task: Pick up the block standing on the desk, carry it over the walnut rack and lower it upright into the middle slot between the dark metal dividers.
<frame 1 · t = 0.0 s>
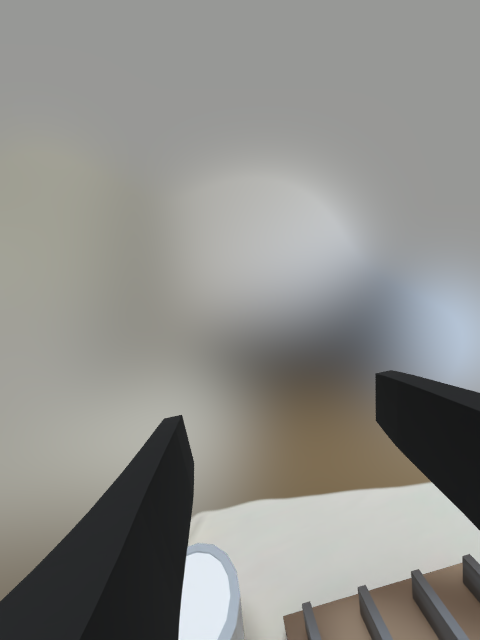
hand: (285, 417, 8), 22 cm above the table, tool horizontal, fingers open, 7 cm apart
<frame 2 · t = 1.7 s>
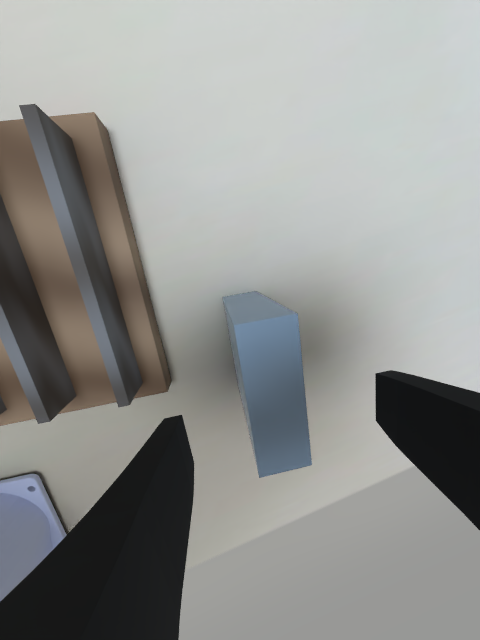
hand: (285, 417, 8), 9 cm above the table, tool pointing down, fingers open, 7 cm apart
rack: (13, 292, 14), on the table
block: (246, 340, 17), on the table
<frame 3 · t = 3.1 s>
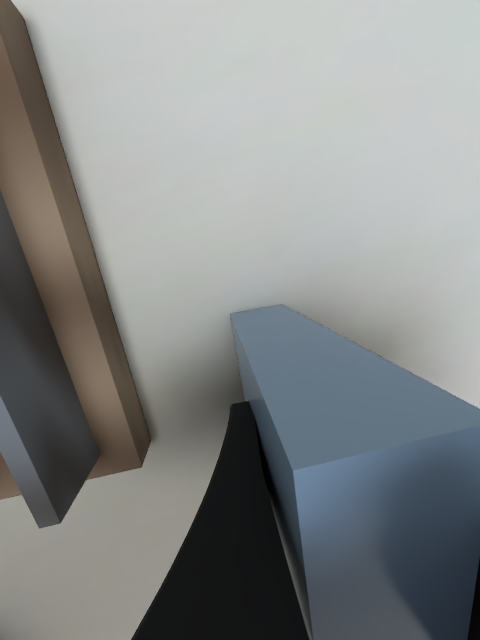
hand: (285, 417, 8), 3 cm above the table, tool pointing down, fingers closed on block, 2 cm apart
block: (265, 378, 11), on the table, touching gripper
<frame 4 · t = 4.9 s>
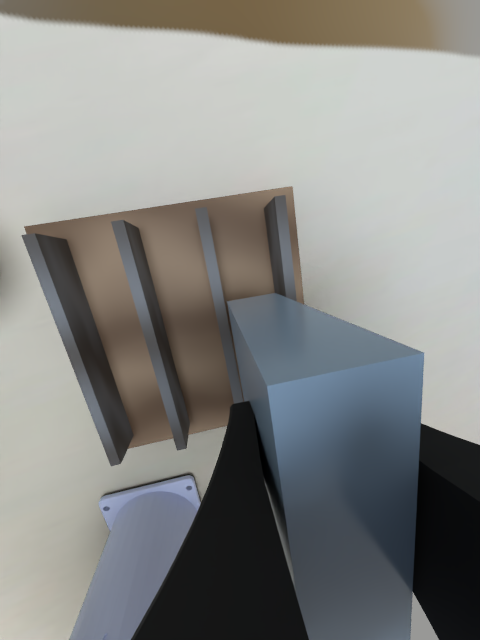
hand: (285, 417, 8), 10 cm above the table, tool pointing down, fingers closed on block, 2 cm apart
rack: (194, 325, 17), on the table
block: (260, 362, 12), point 6 cm above the table, touching gripper
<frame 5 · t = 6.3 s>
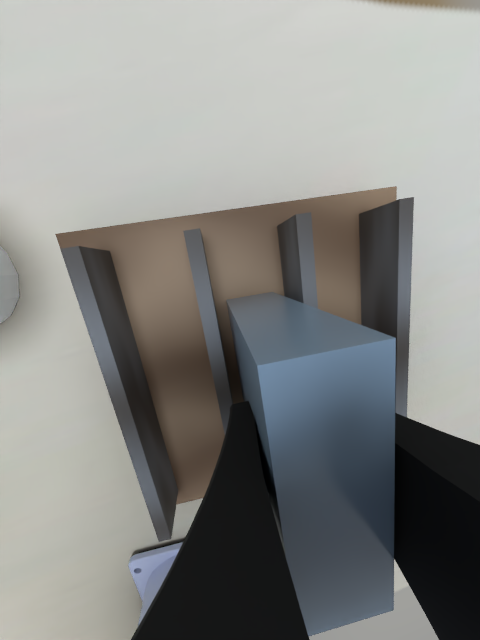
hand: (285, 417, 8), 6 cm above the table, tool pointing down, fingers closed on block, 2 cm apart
rack: (254, 355, 14), on the table
block: (258, 359, 12), point 2 cm above the table, touching gripper, rack
when the fingers open (6 cm above the table, at t = 6.8 s): block stays where it is, resting on rack.
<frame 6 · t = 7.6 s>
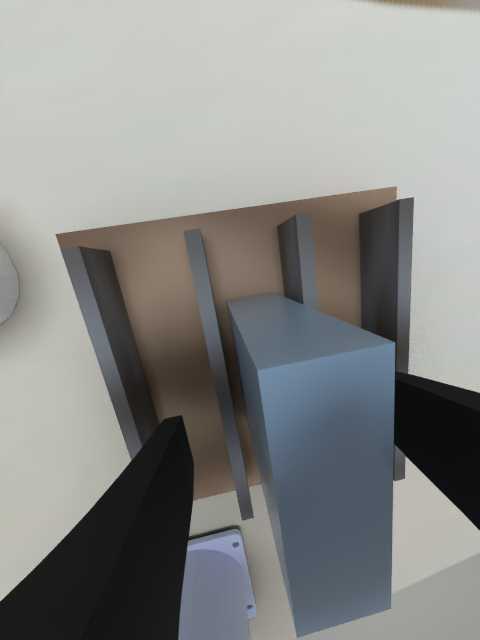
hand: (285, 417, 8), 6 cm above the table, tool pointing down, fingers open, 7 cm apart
rack: (254, 355, 14), on the table
block: (258, 359, 12), point 1 cm above the table, touching rack
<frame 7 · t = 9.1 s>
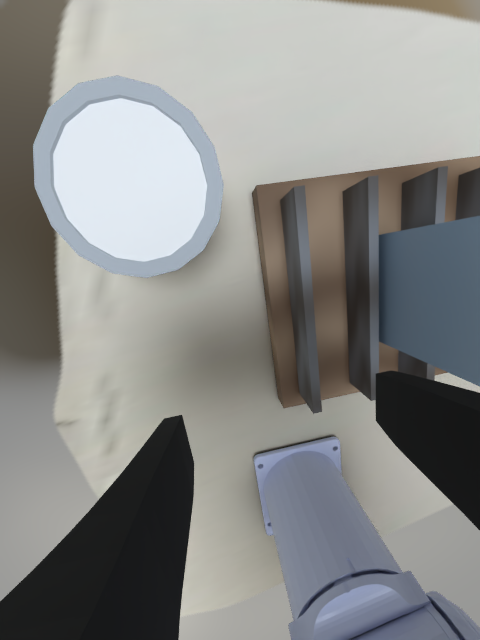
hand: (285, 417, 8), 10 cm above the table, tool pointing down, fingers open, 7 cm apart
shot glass: (167, 221, 15), on the table
rack: (363, 289, 18), on the table
block: (376, 286, 17), point 1 cm above the table, touching rack
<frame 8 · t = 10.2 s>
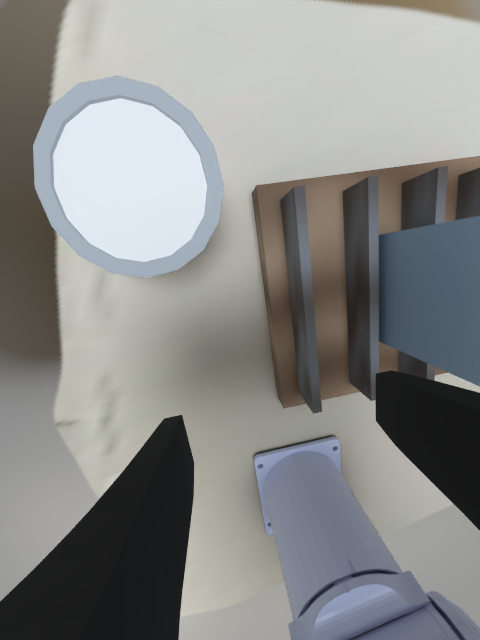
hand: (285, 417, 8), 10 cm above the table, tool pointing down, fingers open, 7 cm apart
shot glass: (167, 221, 15), on the table
rack: (363, 289, 18), on the table
block: (376, 286, 17), point 1 cm above the table, touching rack
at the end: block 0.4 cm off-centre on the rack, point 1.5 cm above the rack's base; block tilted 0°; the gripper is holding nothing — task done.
